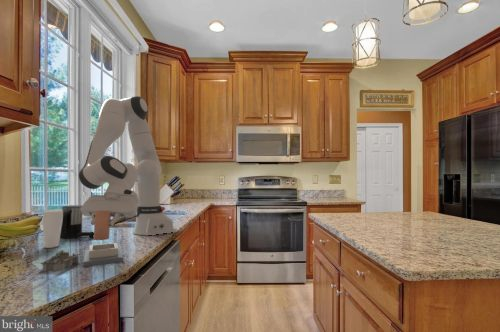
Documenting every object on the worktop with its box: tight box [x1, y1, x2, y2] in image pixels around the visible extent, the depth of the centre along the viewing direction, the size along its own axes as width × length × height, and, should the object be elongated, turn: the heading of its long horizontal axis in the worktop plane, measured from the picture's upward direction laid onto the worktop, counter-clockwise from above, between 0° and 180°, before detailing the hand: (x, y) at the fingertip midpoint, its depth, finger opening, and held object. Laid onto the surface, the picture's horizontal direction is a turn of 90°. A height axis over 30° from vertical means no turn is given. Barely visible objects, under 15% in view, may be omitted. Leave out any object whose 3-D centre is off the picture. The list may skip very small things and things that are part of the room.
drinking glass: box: [42, 209, 63, 249], centre depth 112 cm, size 7×7×15 cm
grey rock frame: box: [40, 249, 81, 272], centre depth 89 cm, size 11×8×4 cm
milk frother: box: [60, 204, 94, 239], centre depth 130 cm, size 14×16×15 cm
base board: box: [82, 242, 124, 267], centre depth 99 cm, size 12×16×4 cm
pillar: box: [93, 211, 111, 241], centre depth 99 cm, size 5×5×10 cm
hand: (101, 224), depth 99 cm, fingers closed on pillar, 5 cm apart
